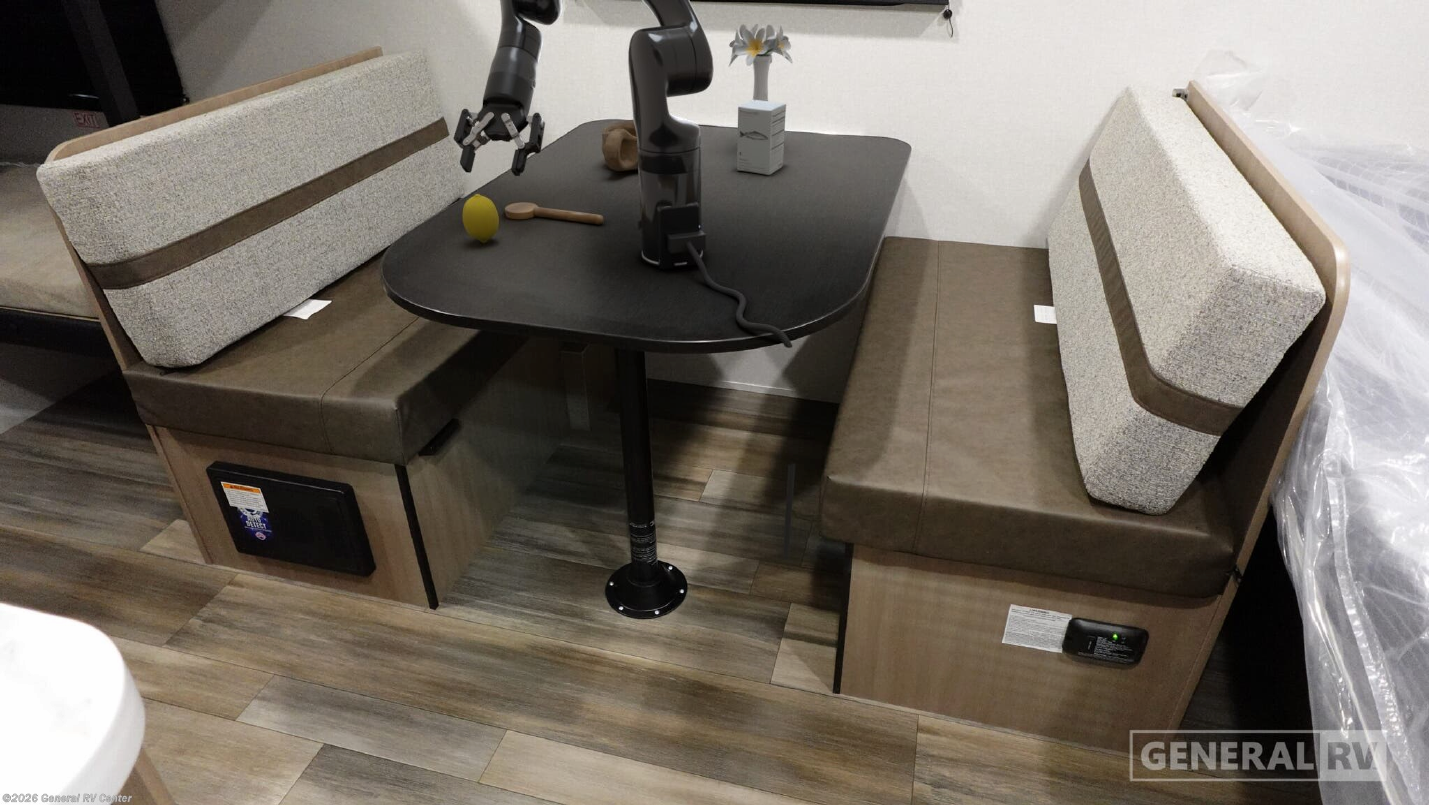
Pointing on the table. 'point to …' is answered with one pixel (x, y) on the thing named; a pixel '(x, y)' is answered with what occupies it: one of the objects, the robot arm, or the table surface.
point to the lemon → (480, 218)
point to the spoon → (549, 213)
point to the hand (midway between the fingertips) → (490, 172)
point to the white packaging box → (760, 136)
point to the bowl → (620, 146)
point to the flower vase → (760, 53)
